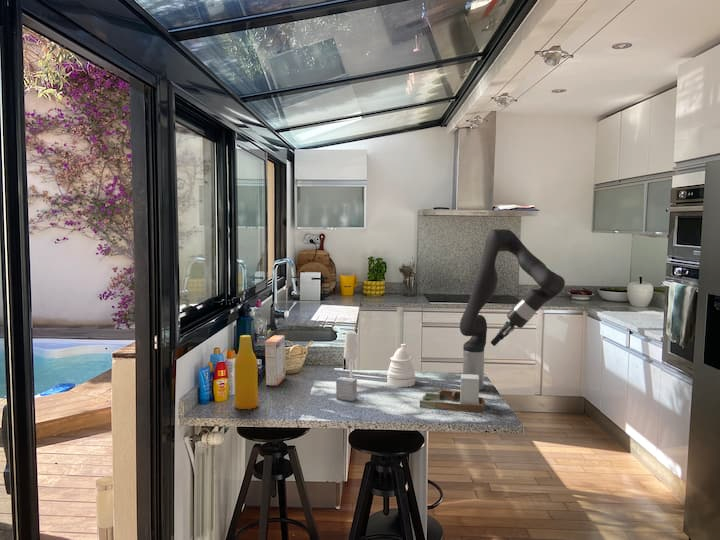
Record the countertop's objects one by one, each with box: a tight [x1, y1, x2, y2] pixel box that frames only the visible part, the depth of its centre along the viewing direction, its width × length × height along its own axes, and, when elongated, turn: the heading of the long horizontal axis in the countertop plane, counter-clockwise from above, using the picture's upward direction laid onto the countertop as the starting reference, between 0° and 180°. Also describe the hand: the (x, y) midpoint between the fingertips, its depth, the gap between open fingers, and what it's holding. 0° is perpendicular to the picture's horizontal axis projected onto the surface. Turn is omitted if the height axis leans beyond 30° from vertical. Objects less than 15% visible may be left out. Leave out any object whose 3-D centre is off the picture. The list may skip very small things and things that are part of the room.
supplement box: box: [459, 373, 480, 406], centre depth 225 cm, size 7×7×13 cm
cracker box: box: [264, 334, 286, 387], centre depth 261 cm, size 14×6×21 cm, turn 172°
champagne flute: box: [343, 331, 359, 386], centre depth 257 cm, size 7×7×24 cm
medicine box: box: [335, 376, 358, 402], centre depth 236 cm, size 8×4×9 cm, turn 65°
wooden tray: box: [419, 389, 486, 414], centre depth 230 cm, size 17×25×2 cm
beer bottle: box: [233, 334, 259, 410], centre depth 225 cm, size 9×9×29 cm
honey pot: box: [386, 343, 416, 388], centre depth 259 cm, size 13×13×18 cm
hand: (492, 343), depth 221 cm, fingers closed
